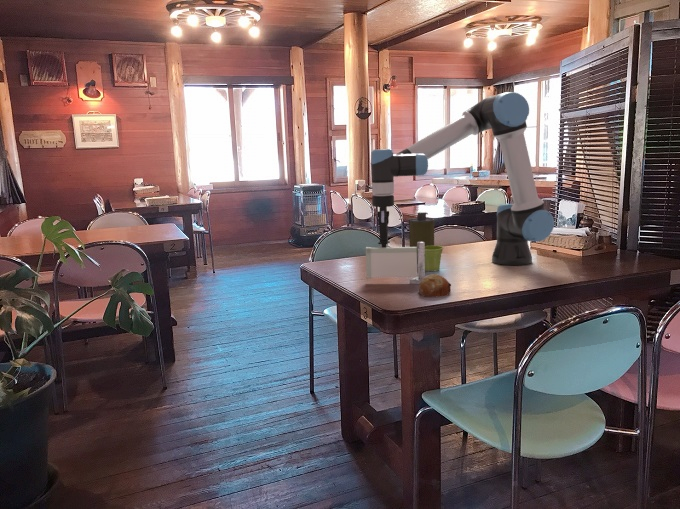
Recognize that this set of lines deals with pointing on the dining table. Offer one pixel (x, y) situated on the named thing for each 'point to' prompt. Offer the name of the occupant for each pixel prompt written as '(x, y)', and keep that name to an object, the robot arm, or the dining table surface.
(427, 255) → the plant pot
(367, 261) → the gate
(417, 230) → the canister
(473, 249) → the dining table surface
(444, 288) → the bread roll
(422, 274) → the gate post
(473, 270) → the dining table surface
